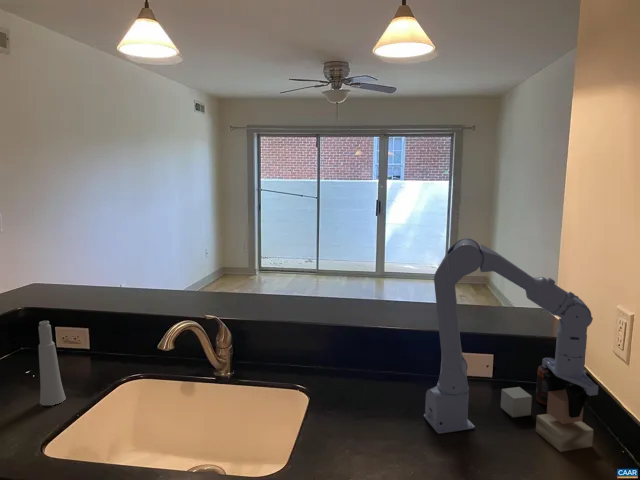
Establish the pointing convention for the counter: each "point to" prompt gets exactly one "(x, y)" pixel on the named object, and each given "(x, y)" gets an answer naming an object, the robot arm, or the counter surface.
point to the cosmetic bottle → (49, 368)
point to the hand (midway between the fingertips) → (565, 410)
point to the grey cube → (516, 402)
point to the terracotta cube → (561, 407)
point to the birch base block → (564, 433)
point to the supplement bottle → (542, 386)
